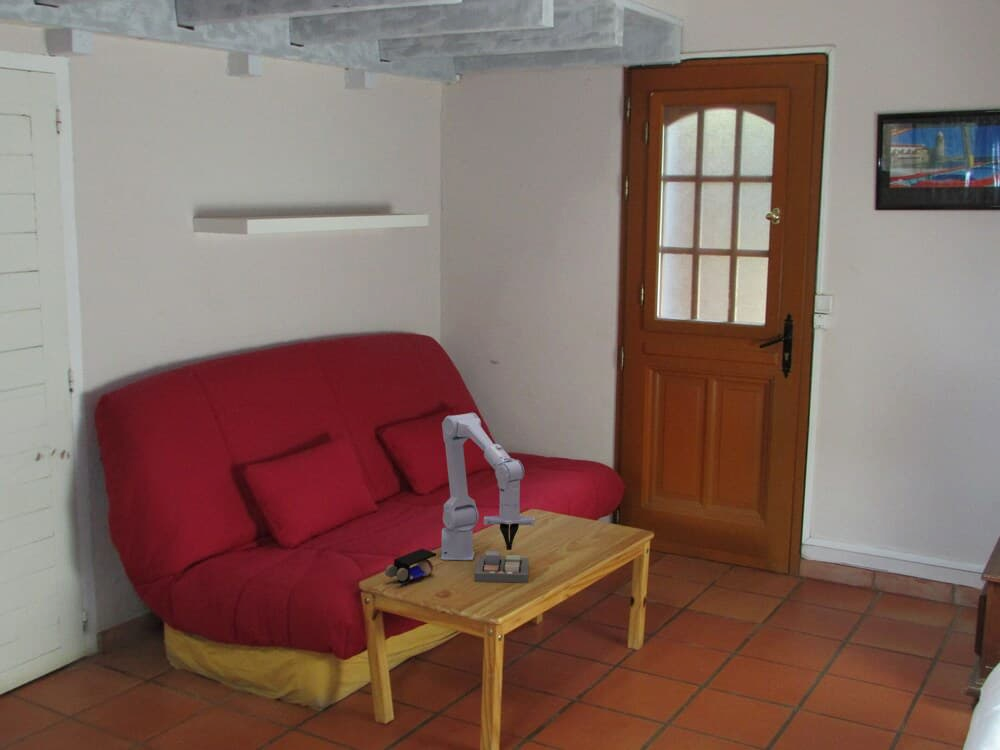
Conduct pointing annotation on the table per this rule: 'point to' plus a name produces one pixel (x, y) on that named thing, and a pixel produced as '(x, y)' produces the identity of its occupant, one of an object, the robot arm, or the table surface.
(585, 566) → the table surface
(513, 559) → the key sage
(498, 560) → the key slate
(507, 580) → the keypad bezel
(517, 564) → the key cream
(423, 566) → the black toy vehicle
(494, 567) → the key terracotta
